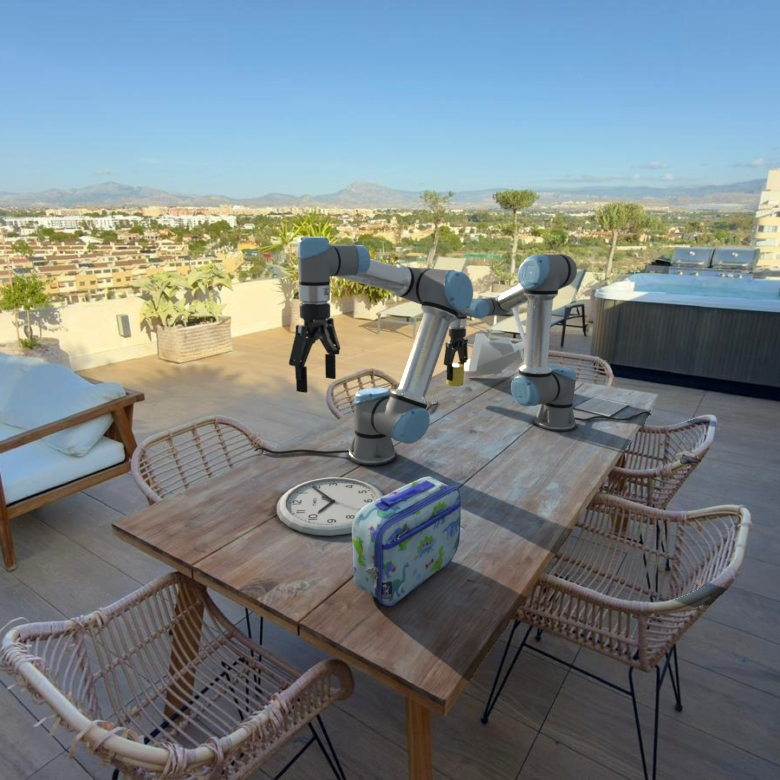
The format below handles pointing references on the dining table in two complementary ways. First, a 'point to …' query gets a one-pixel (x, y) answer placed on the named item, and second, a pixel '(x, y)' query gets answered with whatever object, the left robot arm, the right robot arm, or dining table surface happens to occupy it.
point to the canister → (457, 375)
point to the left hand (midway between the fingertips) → (316, 384)
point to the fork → (432, 403)
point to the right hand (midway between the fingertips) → (455, 378)
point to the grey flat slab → (601, 406)
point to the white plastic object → (494, 353)
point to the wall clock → (325, 505)
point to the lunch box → (405, 538)
